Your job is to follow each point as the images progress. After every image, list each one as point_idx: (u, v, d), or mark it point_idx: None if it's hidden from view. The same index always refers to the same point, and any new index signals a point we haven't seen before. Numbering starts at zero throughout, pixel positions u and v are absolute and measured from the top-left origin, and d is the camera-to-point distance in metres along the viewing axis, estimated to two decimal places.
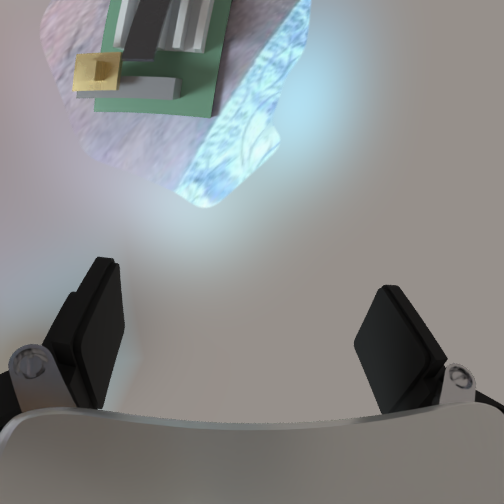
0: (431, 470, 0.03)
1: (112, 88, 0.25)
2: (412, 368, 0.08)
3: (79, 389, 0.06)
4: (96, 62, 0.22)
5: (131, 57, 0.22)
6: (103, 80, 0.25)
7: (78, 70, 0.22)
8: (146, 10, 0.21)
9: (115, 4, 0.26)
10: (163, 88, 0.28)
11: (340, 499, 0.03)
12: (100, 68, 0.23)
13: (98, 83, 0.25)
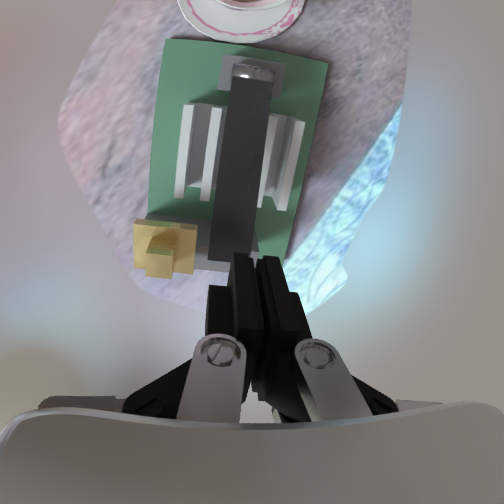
0: (431, 470, 0.03)
1: (188, 271, 0.26)
2: (265, 339, 0.08)
3: None
4: (172, 257, 0.22)
5: (221, 259, 0.22)
6: (176, 261, 0.25)
7: (147, 263, 0.22)
8: (231, 182, 0.21)
9: (163, 116, 0.26)
10: None
11: (340, 499, 0.03)
12: (174, 256, 0.23)
13: None
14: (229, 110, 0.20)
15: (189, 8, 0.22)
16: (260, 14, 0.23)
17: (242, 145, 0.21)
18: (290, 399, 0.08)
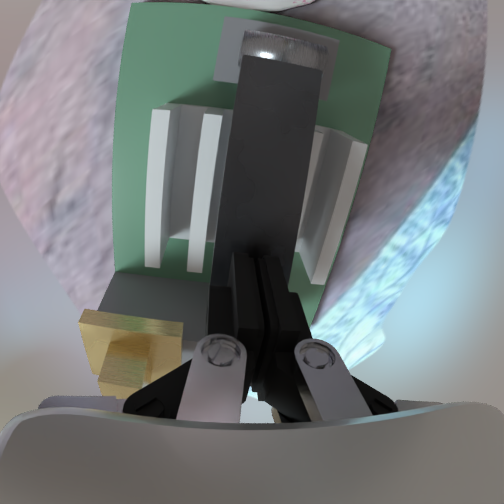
0: (431, 470, 0.03)
1: None
2: (265, 339, 0.08)
3: None
4: None
5: None
6: (152, 373, 0.15)
7: (104, 393, 0.12)
8: None
9: (127, 126, 0.16)
10: None
11: (340, 499, 0.03)
12: (147, 377, 0.13)
13: None
14: (236, 125, 0.10)
15: None
16: None
17: (261, 197, 0.11)
18: (290, 399, 0.08)
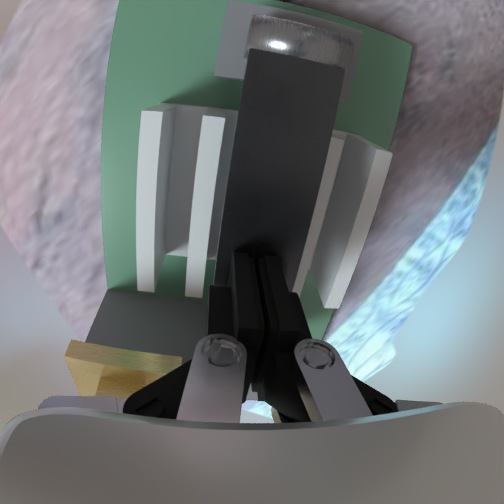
0: (431, 470, 0.03)
1: None
2: (265, 339, 0.08)
3: None
4: None
5: None
6: None
7: None
8: None
9: (116, 130, 0.14)
10: None
11: (340, 499, 0.03)
12: None
13: None
14: (240, 135, 0.09)
15: None
16: None
17: (266, 213, 0.10)
18: (290, 399, 0.08)
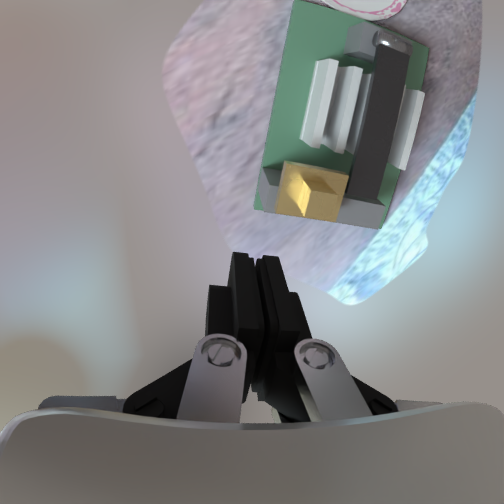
0: (431, 470, 0.03)
1: (331, 219, 0.25)
2: (265, 339, 0.08)
3: None
4: (336, 197, 0.21)
5: (357, 194, 0.26)
6: None
7: (310, 202, 0.21)
8: (373, 133, 0.23)
9: (290, 70, 0.25)
10: (372, 216, 0.27)
11: (340, 499, 0.03)
12: None
13: None
14: (376, 73, 0.21)
15: None
16: None
17: (384, 104, 0.22)
18: (290, 399, 0.08)
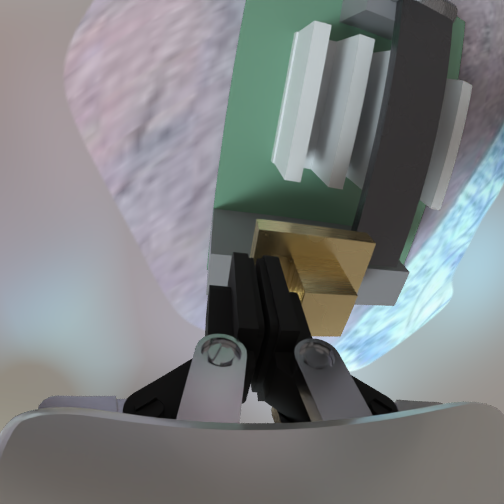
0: (431, 470, 0.03)
1: None
2: (265, 339, 0.08)
3: None
4: (354, 298, 0.11)
5: None
6: None
7: None
8: (397, 155, 0.13)
9: (252, 49, 0.15)
10: (387, 289, 0.17)
11: (340, 499, 0.03)
12: None
13: None
14: (401, 45, 0.10)
15: None
16: None
17: (415, 102, 0.11)
18: (289, 399, 0.08)
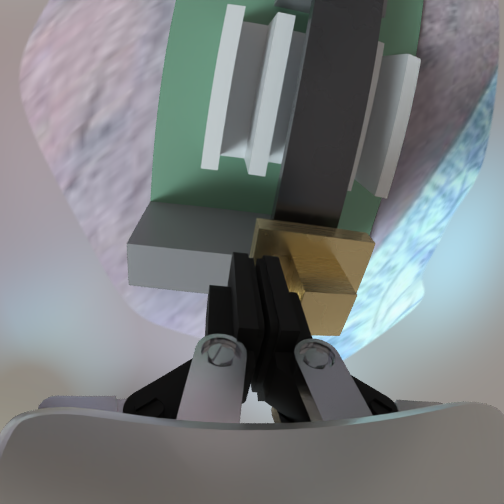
0: (431, 470, 0.03)
1: None
2: (265, 339, 0.08)
3: None
4: (353, 297, 0.11)
5: None
6: None
7: None
8: (315, 134, 0.12)
9: (182, 41, 0.14)
10: None
11: (340, 499, 0.03)
12: None
13: None
14: (316, 16, 0.10)
15: None
16: None
17: (336, 76, 0.11)
18: (290, 399, 0.08)
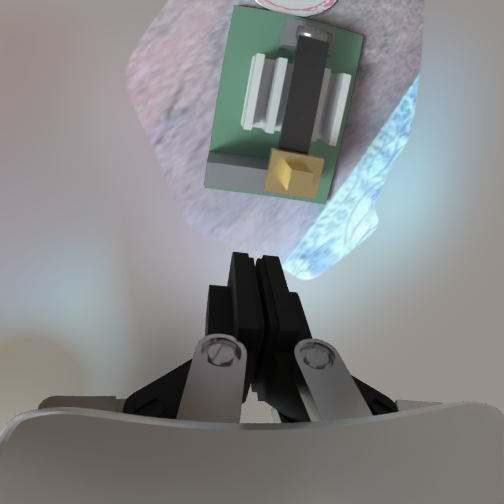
0: (431, 470, 0.03)
1: (311, 196, 0.30)
2: (265, 339, 0.08)
3: None
4: (312, 175, 0.26)
5: None
6: None
7: (291, 179, 0.26)
8: (295, 113, 0.27)
9: (230, 66, 0.30)
10: None
11: (340, 499, 0.03)
12: None
13: None
14: (296, 61, 0.25)
15: None
16: None
17: (305, 87, 0.26)
18: (289, 399, 0.08)
